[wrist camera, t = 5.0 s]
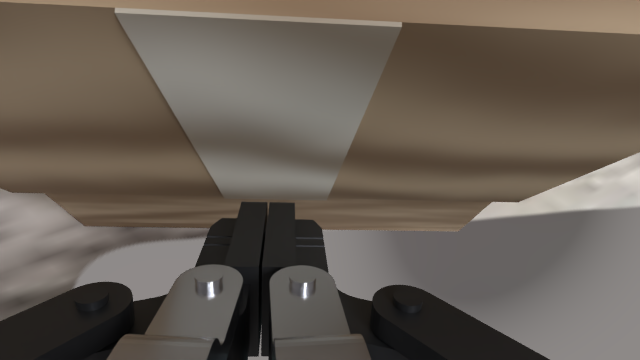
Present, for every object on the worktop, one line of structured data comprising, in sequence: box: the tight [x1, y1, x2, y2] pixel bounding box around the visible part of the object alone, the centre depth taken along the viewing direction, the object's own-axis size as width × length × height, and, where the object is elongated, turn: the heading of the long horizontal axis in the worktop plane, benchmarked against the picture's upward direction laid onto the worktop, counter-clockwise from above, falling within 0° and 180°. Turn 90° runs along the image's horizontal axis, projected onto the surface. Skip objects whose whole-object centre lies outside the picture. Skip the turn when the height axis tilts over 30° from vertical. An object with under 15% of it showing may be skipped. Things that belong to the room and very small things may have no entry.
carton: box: [45, 193, 491, 231], centre depth 28 cm, size 14×24×7 cm, turn 91°
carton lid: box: [0, 0, 640, 202], centre depth 15 cm, size 14×25×1 cm
